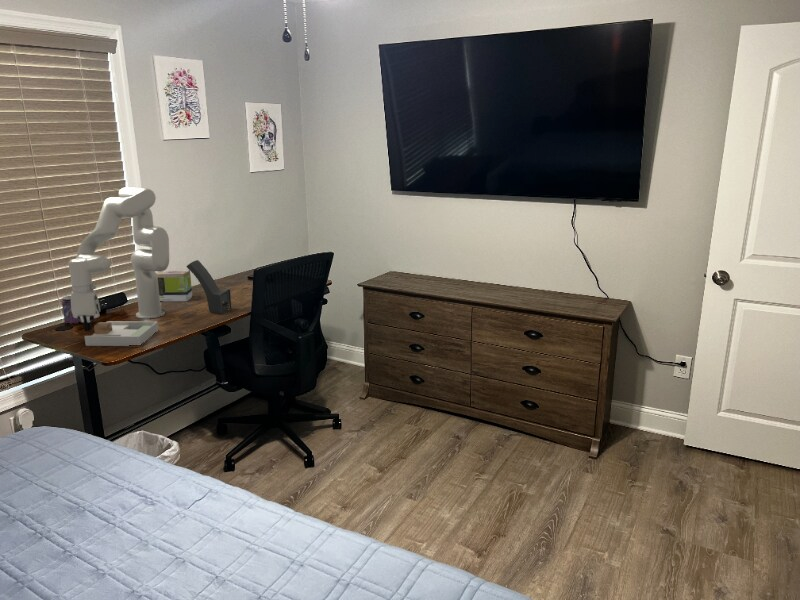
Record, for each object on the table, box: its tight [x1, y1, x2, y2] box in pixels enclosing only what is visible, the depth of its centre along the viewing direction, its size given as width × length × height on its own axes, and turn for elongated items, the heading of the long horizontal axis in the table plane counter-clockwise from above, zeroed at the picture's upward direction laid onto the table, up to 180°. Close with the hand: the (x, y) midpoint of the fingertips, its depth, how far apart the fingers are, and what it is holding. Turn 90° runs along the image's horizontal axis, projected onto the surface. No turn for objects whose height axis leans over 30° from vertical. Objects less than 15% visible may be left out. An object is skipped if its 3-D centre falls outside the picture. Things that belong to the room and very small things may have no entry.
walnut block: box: [93, 321, 112, 334], centre depth 253 cm, size 5×5×4 cm
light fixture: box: [186, 259, 232, 315], centre depth 290 cm, size 11×17×24 cm, turn 81°
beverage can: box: [61, 295, 82, 325], centre depth 272 cm, size 7×7×12 cm
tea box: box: [156, 269, 193, 302], centre depth 310 cm, size 15×10×15 cm, turn 92°
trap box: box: [84, 320, 160, 347], centre depth 254 cm, size 20×22×4 cm
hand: (88, 330), depth 254 cm, fingers closed
